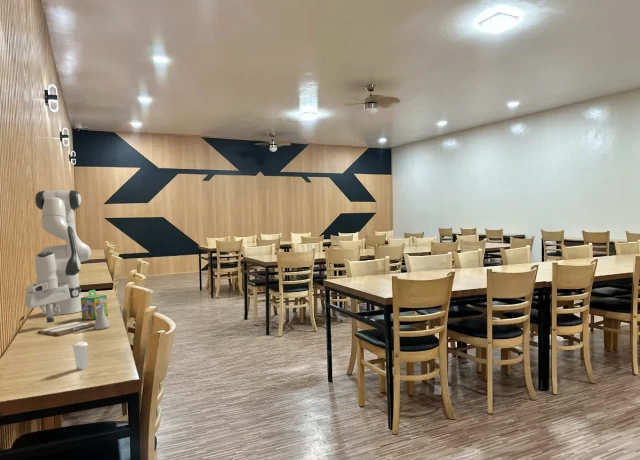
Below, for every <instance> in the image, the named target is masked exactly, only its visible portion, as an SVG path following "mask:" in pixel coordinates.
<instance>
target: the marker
mask: <svg viewBox="0 0 640 460" xmlns="http://www.w3.org/2000/svg"><path fill="white" fill-rule="evenodd" d="M45 310H48V311H47V312H48V313H47V314H45V315H46V323H53V322H55V315H53V303H51V304H47V305H45Z"/></svg>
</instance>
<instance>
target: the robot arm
mask: <svg viewBox="0 0 640 460" xmlns="http://www.w3.org/2000/svg"><path fill="white" fill-rule="evenodd" d="M34 202H35V206H36V208H38V209H39V210H41V227H42V229H43V230H44V232H46V233H48V234H50V235H53V236H54V237H56V238H58V239H60V240H63V241H65V243H66V244H60V245H59V244H58V245H49V246H46V247H45V246H44V247H42V249H40V252H39V253H38V254H36V256H35V257H36V258H35V264H34V265H35V273H36V280H35V281H36V282H35V283H32V284H31V285H29V286H26V287H25V292H26V293H25V297H24V305H25V307H26V308H29V309H33V308H39V309H40V310H41V311H42V314H43V315H46V314H47V313H48V312H47V311H48V310H46V305H47V304H51V303H53V315H54V316H59V315H67V314H69V315H70V314H74V313H79V312H82V309H81V299H80V298H83V297H84V296H83V294H81V292H82V289H81V286H80V275H79V273H80V271H82V264H81V263H82V262H86V261H89V260H90V258H91V257H92V249H91V247H90V246H89V245H88V244H86V243H85V242H83V241H82V240H81V239H80V238H79V236H78V233H77V230H76V219H75V212H74V211H76V210H77V209H78V208H80V207H81V203H82V195H81V194H80V193H79V191H77V190H72V189H71V190H68V189H67V190H66V189H53V190H41V191H37V193H35V197H34Z"/></svg>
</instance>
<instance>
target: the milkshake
mask: <svg viewBox="0 0 640 460" xmlns="http://www.w3.org/2000/svg"><path fill="white" fill-rule="evenodd" d="M69 343H70V344H71V346H72V351H73V354H74V360H75V365H76V366H75V367H76V370H77V371H83V370H86V369H87V368H88V351H89V350H88V349H89V348H88V347H89V343H87V342H86V341H78V342H76V343H74V344H73V343H71V341H70V342H69Z"/></svg>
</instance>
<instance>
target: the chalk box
mask: <svg viewBox="0 0 640 460" xmlns="http://www.w3.org/2000/svg"><path fill="white" fill-rule="evenodd" d="M92 293H93V294H92ZM80 299H81V309H82V311H81V319H82V320H95V321H96V318H97V313H98V311H97V308H98V307H104V313H105V316H106V317H108V316H109V315H108V300H107V295H103V294H97V291H96V289H92V290H88V296H83V298H80Z"/></svg>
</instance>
